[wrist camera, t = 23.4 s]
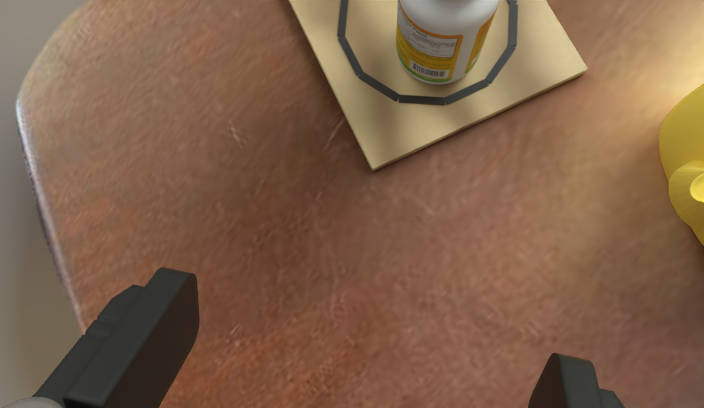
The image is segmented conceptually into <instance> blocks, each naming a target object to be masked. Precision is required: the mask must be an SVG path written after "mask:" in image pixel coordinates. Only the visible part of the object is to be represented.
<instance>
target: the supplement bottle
mask: <svg viewBox="0 0 704 408" xmlns="http://www.w3.org/2000/svg"><path fill="white" fill-rule="evenodd" d="M499 1H500V0H398V5H397V28H396V51H397V55H398V58H399V61H400V63H401V65H402V66H403V68H404V69H405V70H406V71H407V72H408V73H409V74H410V75H411V76H413V77H414V78H416V79H417V80H419V81H422V82H424V83H428V84H435V85H442V84H448V83H452V82H455V81H457V80H459V79H461V78H462V77H464V76H465V75H466V74H467V73H468V72H469V71H470V70H471V69H472V68H473V67H474V65H475V64H476V62H477V60H478V58H479V55H480V53H481V50H482V47H483V44H484V41H485V39H486V36H487V33H488V31H489V28H490V26H491V23H492V20H493V18H494V15H495V12H496V10H497V7H498V4H499Z"/></svg>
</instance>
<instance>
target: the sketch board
mask: <svg viewBox="0 0 704 408" xmlns="http://www.w3.org/2000/svg"><path fill="white" fill-rule="evenodd" d="M288 1H289V3H290V5H291V7H292V9H293V11H294V13H295V15H296V17H297V20H298V22H299V24H300V26H301V28H302V30H303V32H304V34H305V36H306V38H307V40H308V42H309V44H310V46H311V48H312V50H313V52H314V54H315V56H316V58H317V60H318V62H319V64H320V66H321V68H322V70H323V72H324V74H325V76H326V78H327V81H328V83H329V85H330V87H331V89H332V91H333V93H334V95H335V97H336V99H337V101H338V103H339V105H340V107H341V109H342V111H343V113H344V115H345V117H346V119H347V121H348V123H349V125H350V127H351V129H352V131H353V133H354V135H355V137H356V139H357V141H358V144H359V146H360V148H361V150H362V152H363V154H364V156H365V158H366V160H367V162H368V164H369V166H370V168H371V170H372V171H375V170H378V169H380V168H382V167H384V166H386V165H388V164H390V163H393V162H395V161H397V160H399V159H401V158H403V157H406V156H408V155H410V154H412V153H414V152H416V151H419V150H421V149H423V148H425V147H427V146H429V145H431V144H434V143H436V142H438V141H440V140H442V139H444V138H447V137H449V136H451V135H453V134H455V133H457V132H459V131H462V130H464V129H466V128H468V127H470V126H472V125H475V124H477V123H479V122H481V121H483V120H485V119H487V118H490V117H492V116H494V115H496V114H498V113H500V112H503V111H505V110H507V109H509V108H511V107H513V106H515V105H518V104H520V103H522V102H524V101H526V100H528V99H531V98H533V97H535V96H537V95H539V94H541V93H543V92H546V91H548V90H550V89H552V88H554V87H556V86H559V85H561V84H563V83H565V82H567V81H569V80H572V79H574V78H576V77H578V76H580V75H582V74H584V73H585V72H586V71H587V70H588V68H587V67H586V65H585V63H584V62H583V60H582V59H581V57H580V55H579V54H578V52H577V50H576V49H575V47H574V46H573V44H572V42H571V41H570V39H569V37H568V36H567V34H566V33H565V31H564V29H563V28H562V26H561V24H560V23H559V21H558V20H557V18H556V16H555V15H554V13H553V11H552V10H551V8H550V7H549V5H548V3H547V2H546V0H500V1H499V4H498V7H497V10H496V12H495V15H494V18H493V20H492V23H491V26H490V28H489V31H488V33H487V36H486V39H485V41H484V44H483V47H482V50H481V53H480V55H479V58H478V60H477V62H476V64H475V65H474V67H473V68H472V69H471V70H470V71H469V72H468V73H467V74H466V75H465V76H464V77H462V78H461V79H459V80H457V81H455V82H452V83H448V84H442V85H435V84H428V83H424V82H422V81H419V80H417V79H416V78H414V77H413V76H411V75H410V74H409V73H408V72H407V71H406V70H405V69H404V68H403V66H402V65H401V63H400V61H399V58H398V55H397V51H396V28H397V5H398V0H288Z"/></svg>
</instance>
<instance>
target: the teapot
mask: <svg viewBox="0 0 704 408" xmlns="http://www.w3.org/2000/svg"><path fill="white" fill-rule="evenodd" d="M658 143H659V154H660V159H661V162H662V166H663V169H664V172H665V175H666V177H667V180H668V182H669V186H668V190H669V197H670V200H671V203H672V206H673V208H674V209H675V211H676V213H677V215H678V216H679V217H680V218H681V219H682V221H683V222H685V223H686V224H687V225H689V226H690V227H691V228H692V230H693V232H694V233H695V235H696V236H697V238H698V240H699V241H700V242H701V244H702V245H703V246H704V84H703V85H701V86H700V87H698V88H697V89H695V90H694V91H693V92H691V93H690V94H689V95H687V96H686V97H685V98H683V99H682V100H681V101H680V102H679V103H678V104H677V105H676V106H675V107H674V108H673V109H672V110H671V112H670V113H669V114H668V115H667V117H666V118H665V120H664V122H663V124H662V127H661V129H660V134H659V141H658Z"/></svg>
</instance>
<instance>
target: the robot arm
mask: <svg viewBox="0 0 704 408" xmlns="http://www.w3.org/2000/svg"><path fill="white" fill-rule="evenodd" d="M198 329H199V305H198V290H197V278H196V276H195V274H192V273H188V272H183V271H178V270H174V269H169V268H164V267H162V268H160V269H159V270H158V271H157V272H156V273H155V274H154V276H153V277H152V278H151V280H150V281H149V282H148V284H147V285H146V286H145V287H142V286H137V285H132V286H131V287H129V288H128V289H126V290H124V291H123V292H121V293H120V294H118V295H117V296H115V297H114V298H112V299H111V301H110V302H109V303H108V304H107V305H106V307H105V308H104V309H103V310H102V312H101V313H100V314H99V315H98V318H97V320H94V322H93V323H92V324H91V325H90V327H89V328H88V329H87V330H86V333H85V335H82V337H81V338H80V339H79V340H78V342H77V343H76V344H75V345H74V346H73V348H72V349H71V351H69V353H68V354H67V355H66V356H65V358H64V359H63V360H62V362H61V363H60V364H59V365H58V366H57V368H56V369H55V370H54V371H53V373H52V374H51V375H50V376H49V378H48V379H47V380H46V381H45V382H44V384H43V385H42V386H41V387H40V389H39V390H38V391H37V392H36V393H35V394H34V395H33V396H32V397H31V398H25V399H21V400H18V401H15V402H13V403H11V404H9V405H7V406H5V407H3V408H158V407H159V406H160V404H161V402H162V400H163V399H164V397H165V395H166V393H167V392H168V390H169V388H170V386H171V384H172V383H173V381H174V379H175V377H176V376H177V374H178V372H179V370H180V368H181V367H182V365H183V363H184V361H185V360H186V358H187V356H188V354H189V352H190V351H191V349H192V347H193V345H194V343H195V340H196V337H197V334H198ZM528 408H625V407H624V406H623V404H622V403H621V401H620V400H619V399H618V397H617V396H616V394H615V393H614V392H613V391H609V390H604V389H600V388H599V386H598V381H597V377H596V373H595V369H594V366H593V364H592V362H591V361H590V360H585V359H581V358H576V357H572V356H567V355H562V354H558V353H553V354H552V355H551V356H550V358H549V359H548V362H547V364H546V366H545V368H544V370H543V372H542V374H541V376H540V378H539V380H538V383H537V385H536V387H535V389H534V391H533V393H532V395H531V398H530V401H529V406H528Z"/></svg>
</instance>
